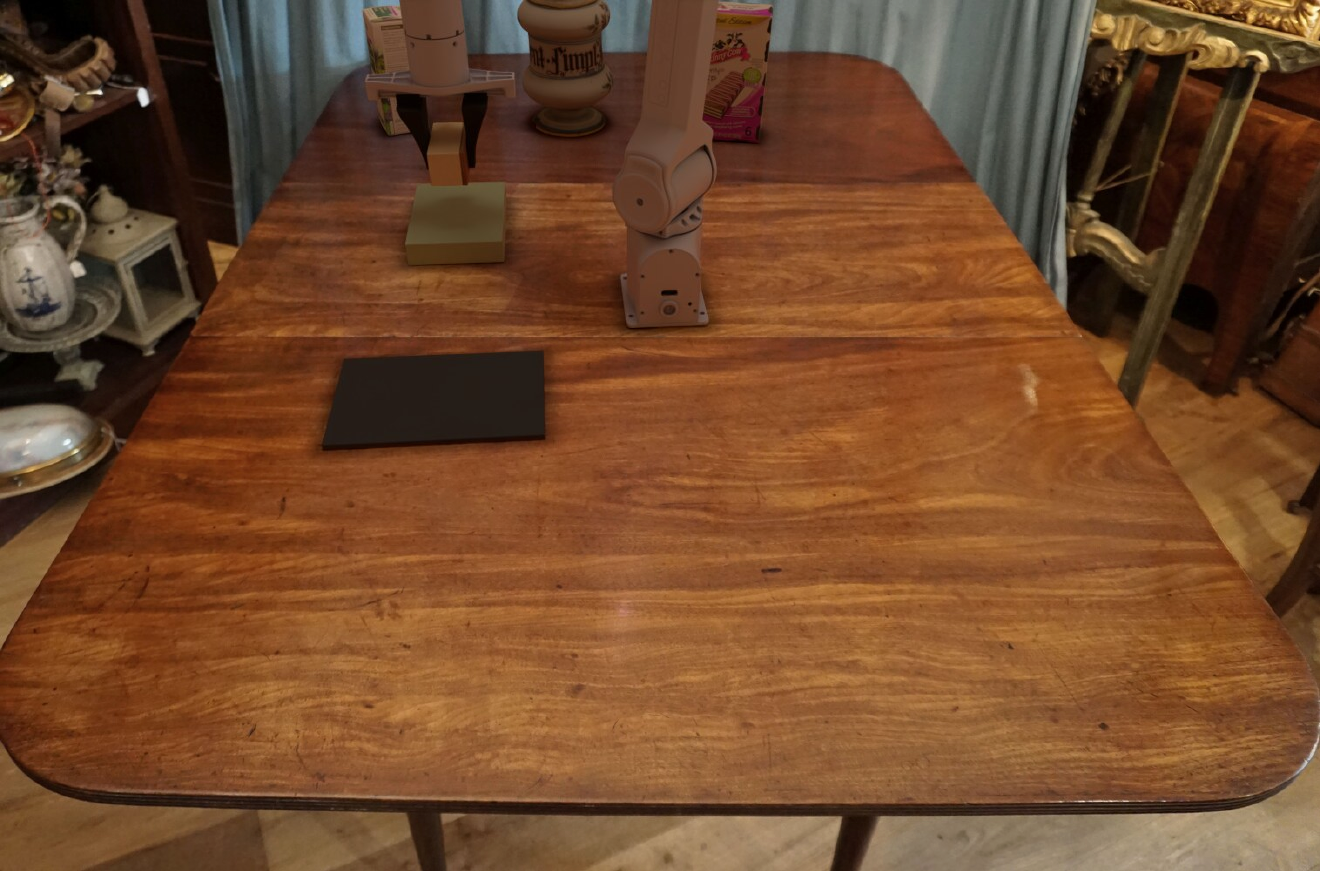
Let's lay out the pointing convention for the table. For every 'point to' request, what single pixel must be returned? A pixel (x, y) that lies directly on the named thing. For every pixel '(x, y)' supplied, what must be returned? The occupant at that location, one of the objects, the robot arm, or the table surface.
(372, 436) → the felt mat
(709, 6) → the robot arm
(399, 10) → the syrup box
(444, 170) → the tan rectangular block
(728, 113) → the candy bar box
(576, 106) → the apothecary jar
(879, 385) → the table surface
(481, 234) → the sage rectangular block
